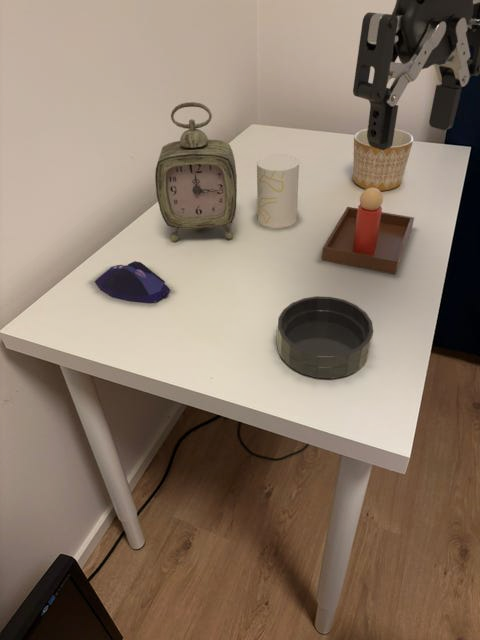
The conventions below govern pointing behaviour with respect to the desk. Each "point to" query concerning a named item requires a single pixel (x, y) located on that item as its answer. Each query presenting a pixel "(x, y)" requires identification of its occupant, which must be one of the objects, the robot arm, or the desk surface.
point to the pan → (324, 337)
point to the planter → (380, 161)
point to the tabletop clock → (196, 180)
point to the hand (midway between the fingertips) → (411, 137)
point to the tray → (387, 247)
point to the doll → (368, 221)
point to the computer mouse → (132, 283)
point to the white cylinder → (277, 190)
